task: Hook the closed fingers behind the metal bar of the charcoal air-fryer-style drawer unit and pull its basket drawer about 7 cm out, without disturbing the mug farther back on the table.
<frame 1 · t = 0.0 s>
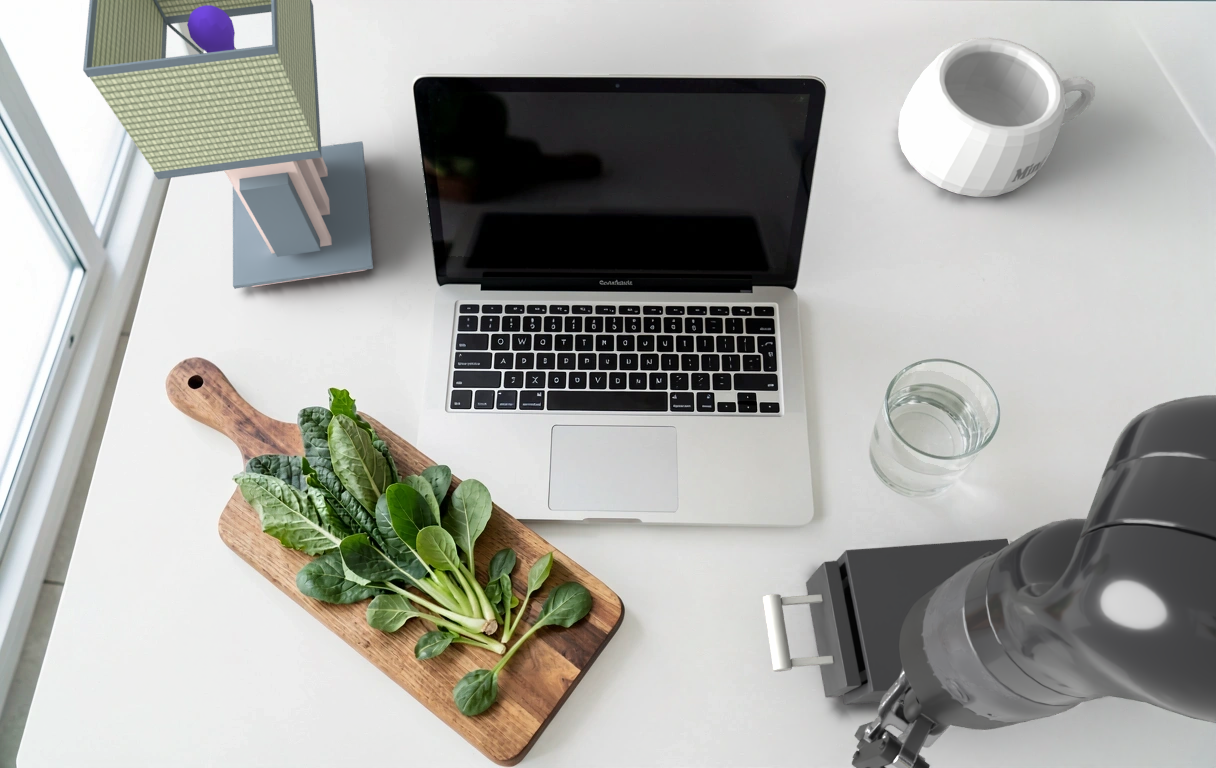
hand: (901, 684, 59), 20 cm above the table, tool pointing down, fingers open, 8 cm apart
fryer: (907, 633, 80), on the table
mug: (983, 145, 104), on the table
watch: (1045, 621, 81), on the table
basket: (868, 627, 76), point 5 cm above the table, slide at 0.5 cm
desk lamp: (307, 225, 99), on the table
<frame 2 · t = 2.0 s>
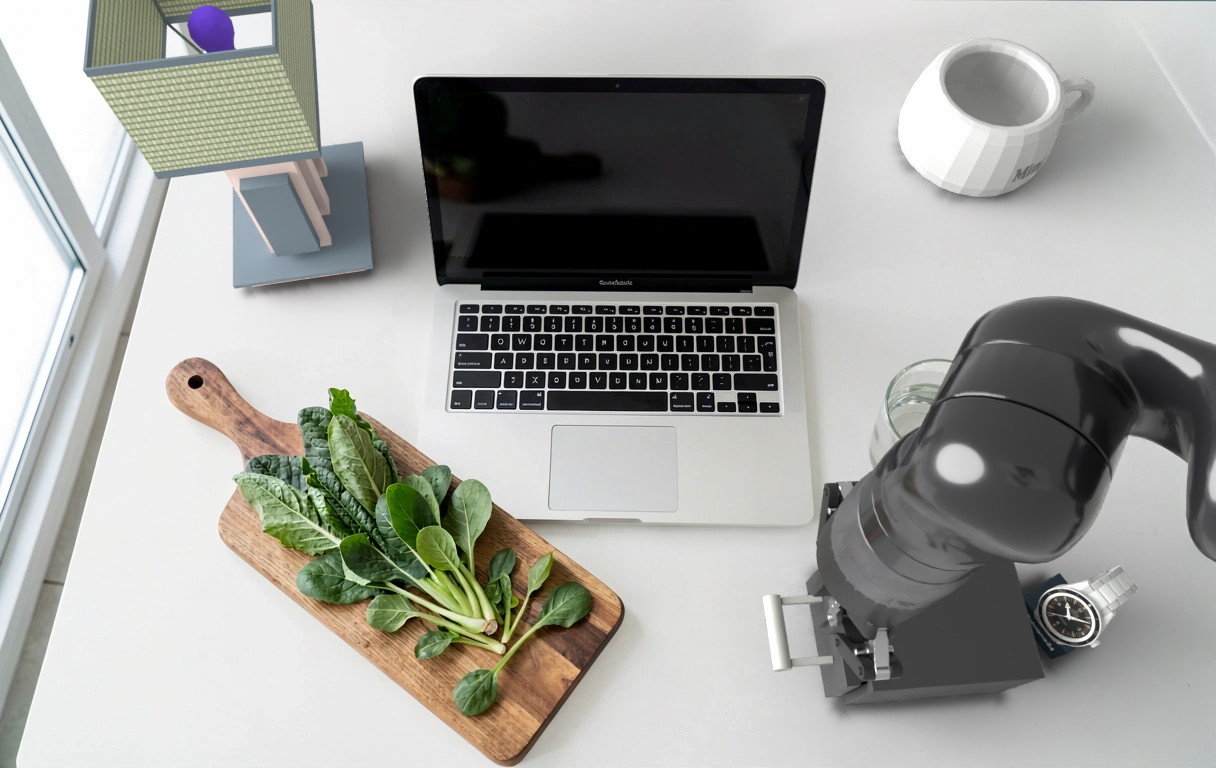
hand: (828, 606, 66), 15 cm above the table, tool pointing down, fingers closed
nothing on the table moved.
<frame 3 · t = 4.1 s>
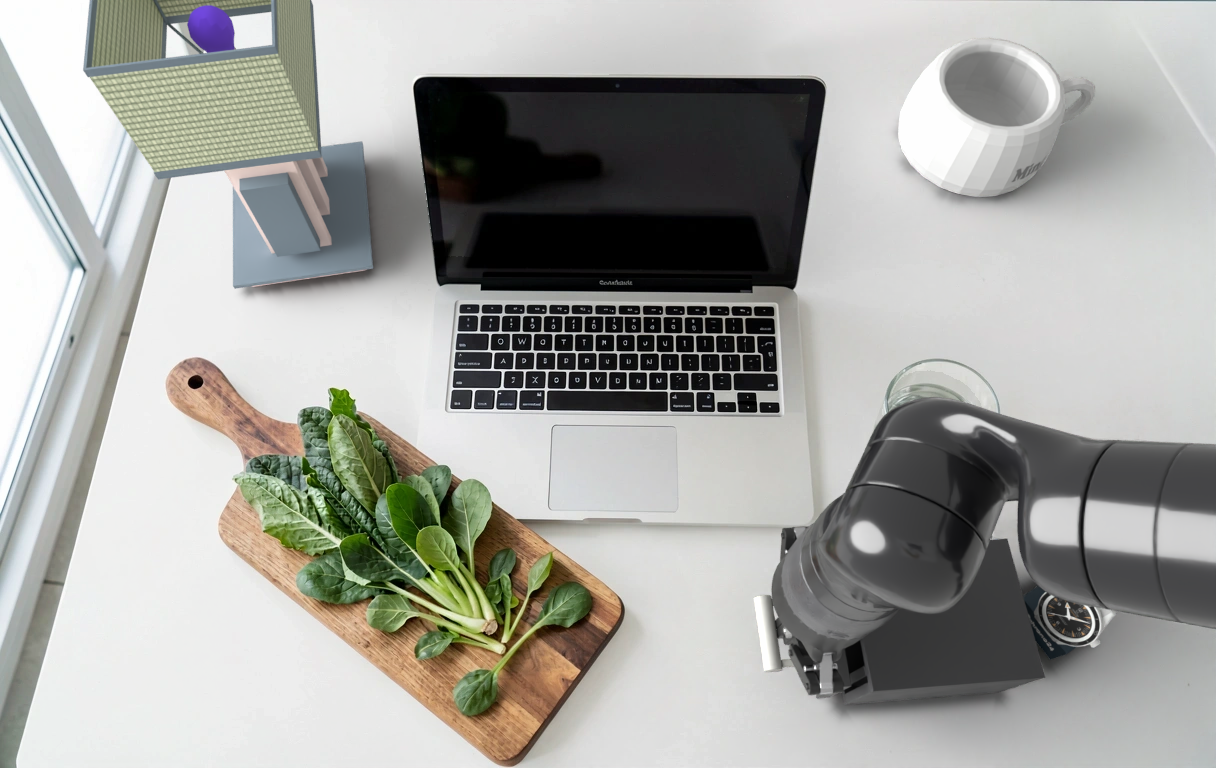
hand: (788, 628, 75), 5 cm above the table, tool pointing down, fingers closed
basket: (859, 628, 76), point 5 cm above the table, slide at 1.3 cm, touching gripper
everything else where it was.
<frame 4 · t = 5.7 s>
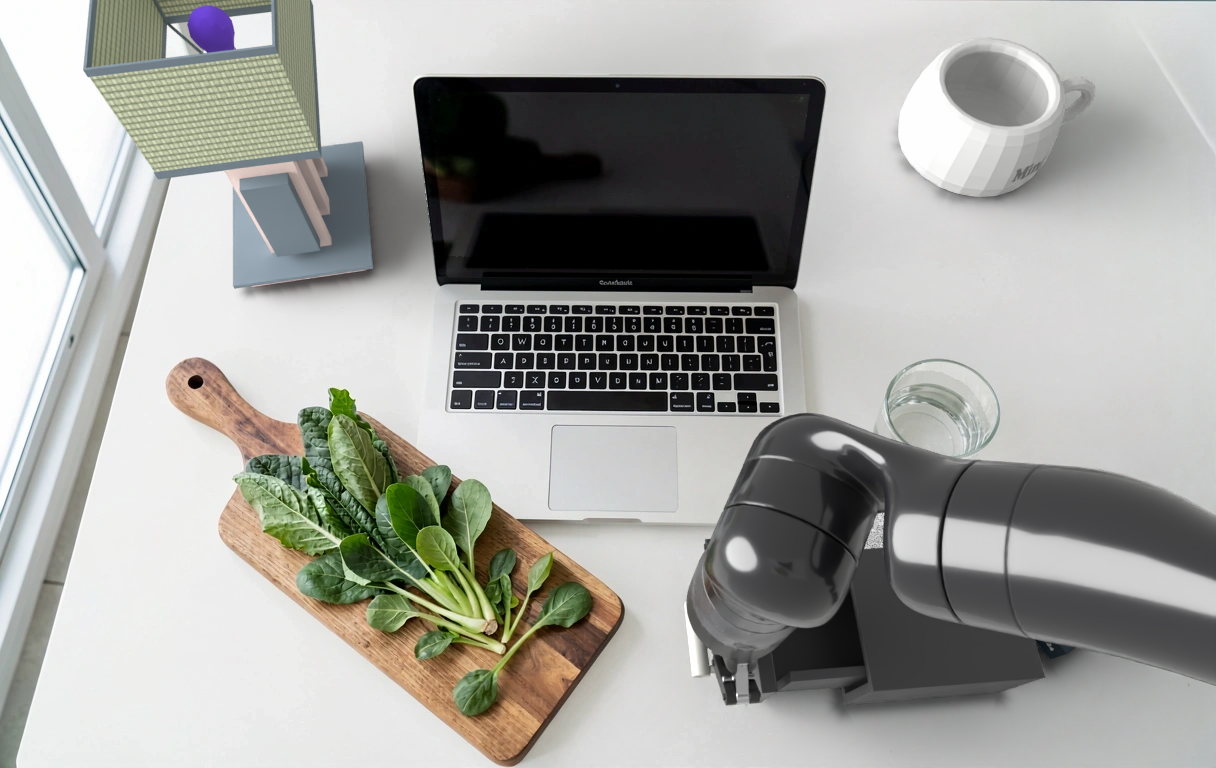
hand: (717, 638, 76), 4 cm above the table, tool pointing down, fingers closed
basket: (790, 633, 76), point 5 cm above the table, slide at 7.2 cm, touching gripper
everything else where it was.
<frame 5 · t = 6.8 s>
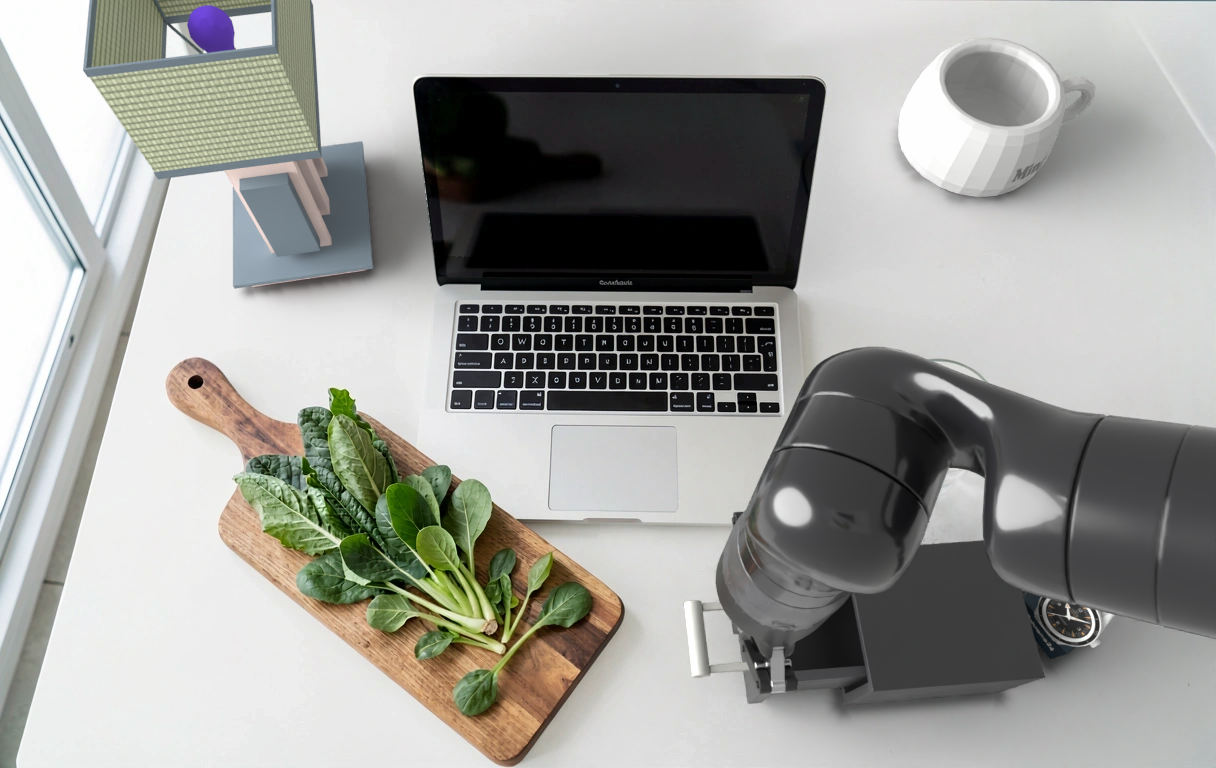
hand: (745, 623, 69), 11 cm above the table, tool pointing down, fingers closed
basket: (790, 633, 76), point 5 cm above the table, slide at 7.2 cm
everything else where it was.
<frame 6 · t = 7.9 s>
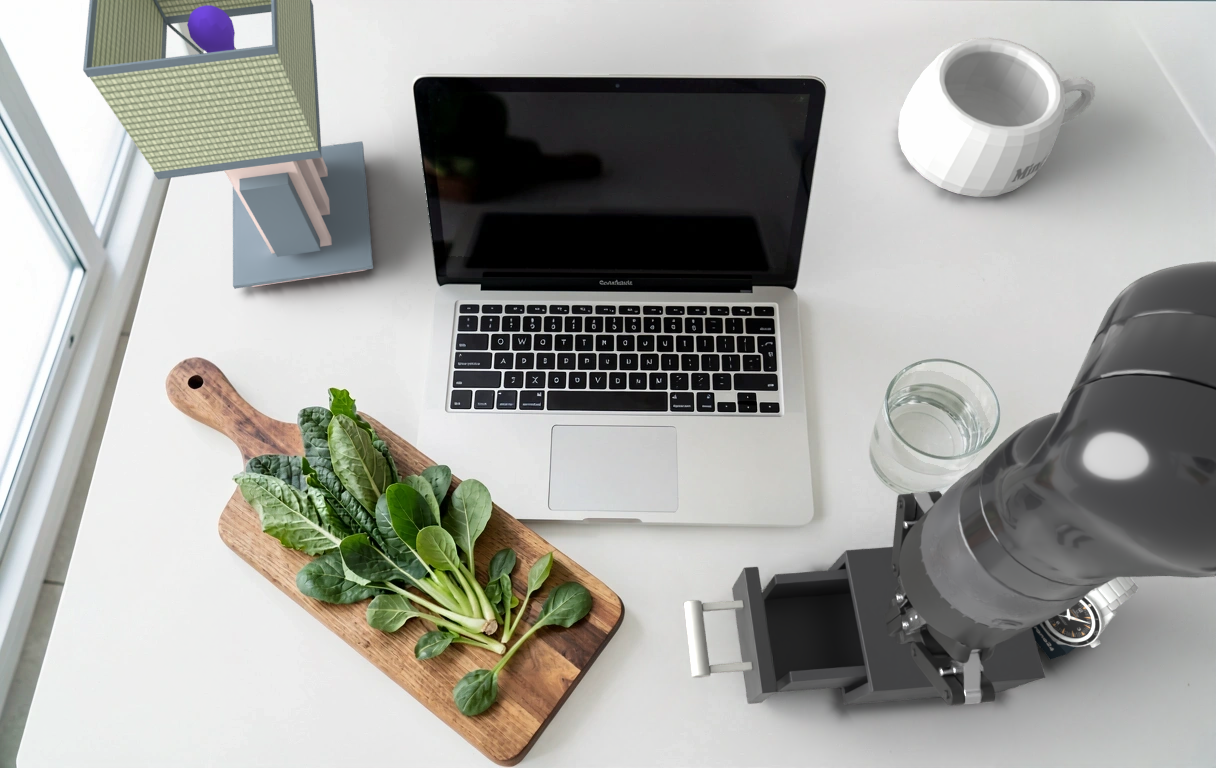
hand: (900, 624, 60), 20 cm above the table, tool pointing down, fingers closed
nothing on the table moved.
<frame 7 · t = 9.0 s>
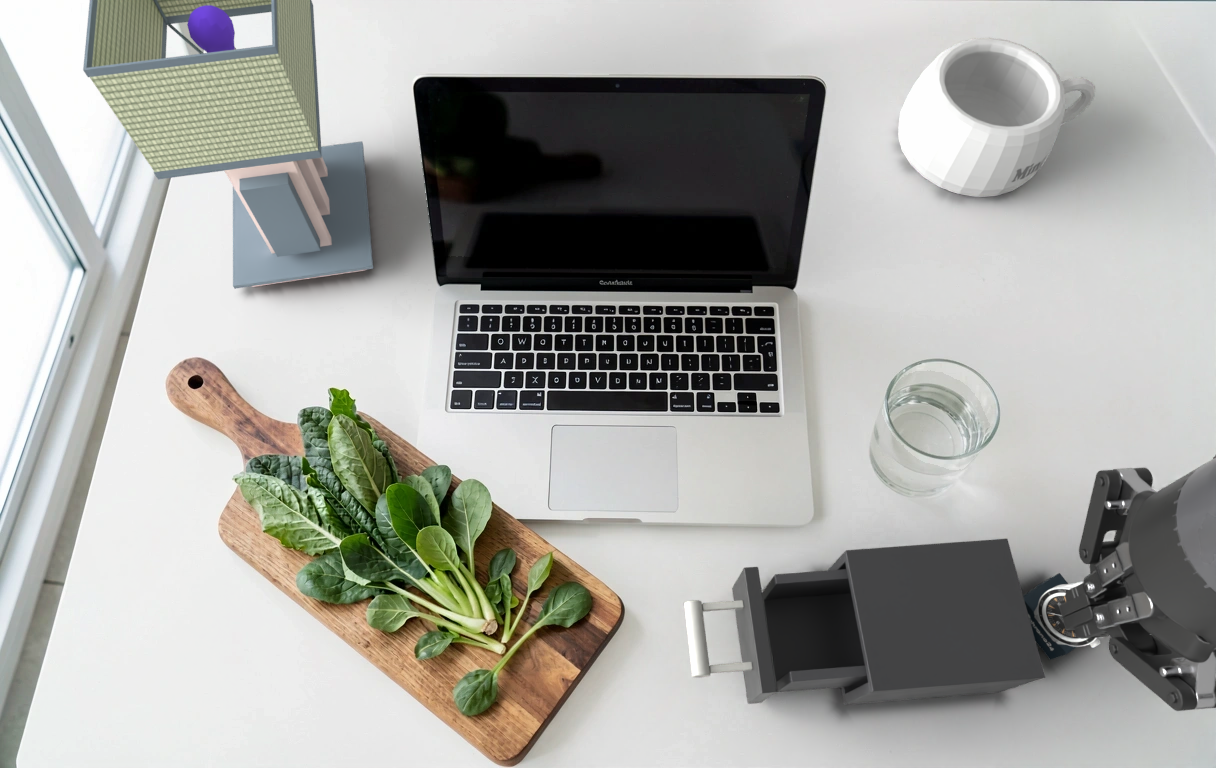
hand: (1077, 616, 54), 27 cm above the table, tool pointing down, fingers closed
nothing on the table moved.
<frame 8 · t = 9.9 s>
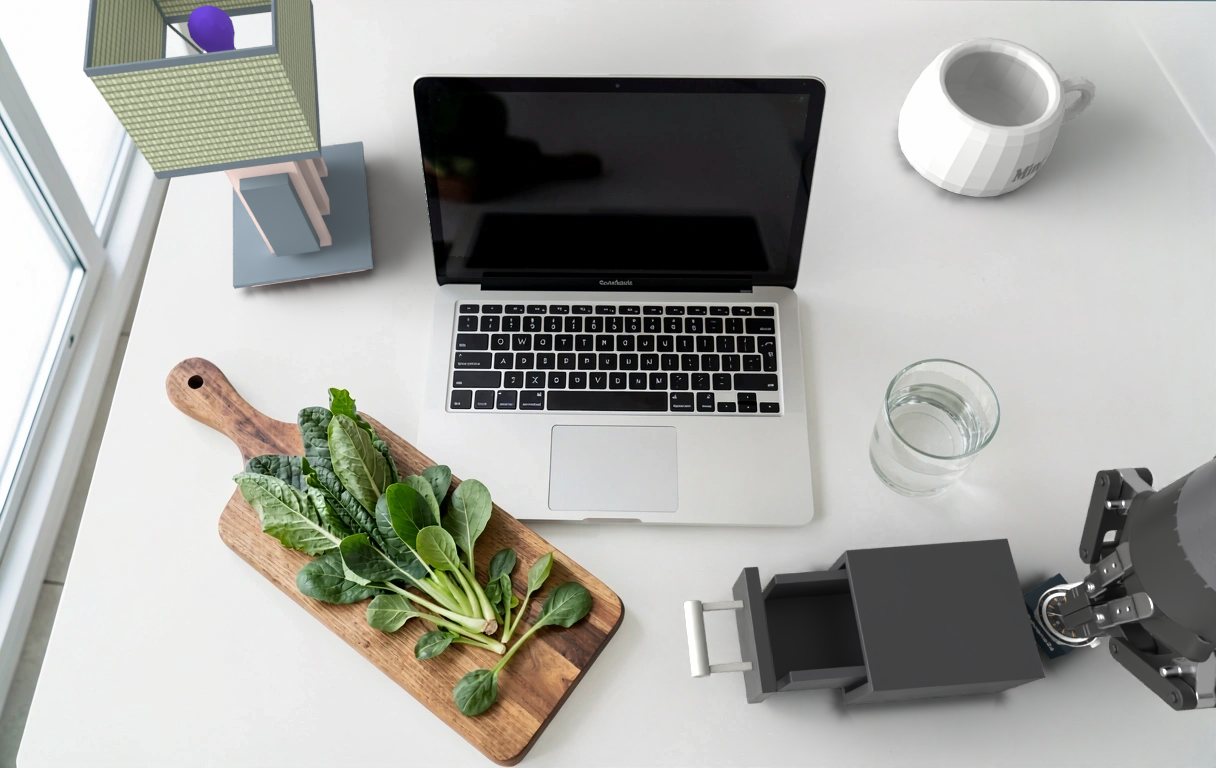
hand: (1077, 616, 54), 27 cm above the table, tool pointing down, fingers closed
nothing on the table moved.
at the end: basket slide at 7.2 cm; mug moved 0.2 cm from its start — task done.
